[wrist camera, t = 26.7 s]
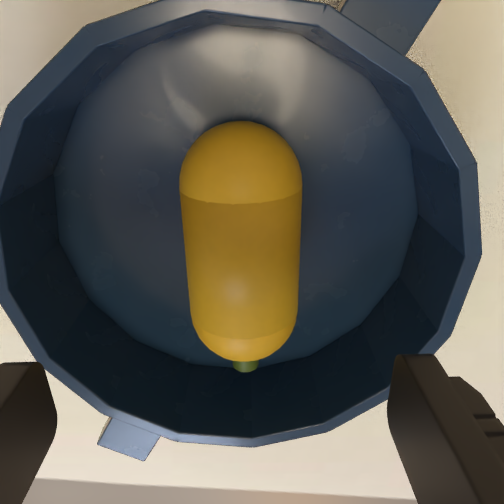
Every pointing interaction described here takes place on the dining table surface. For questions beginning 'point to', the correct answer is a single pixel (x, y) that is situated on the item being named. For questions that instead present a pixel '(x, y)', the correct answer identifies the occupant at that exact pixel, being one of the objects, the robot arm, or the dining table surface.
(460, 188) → the pot
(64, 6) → the dining table surface
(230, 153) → the squash
